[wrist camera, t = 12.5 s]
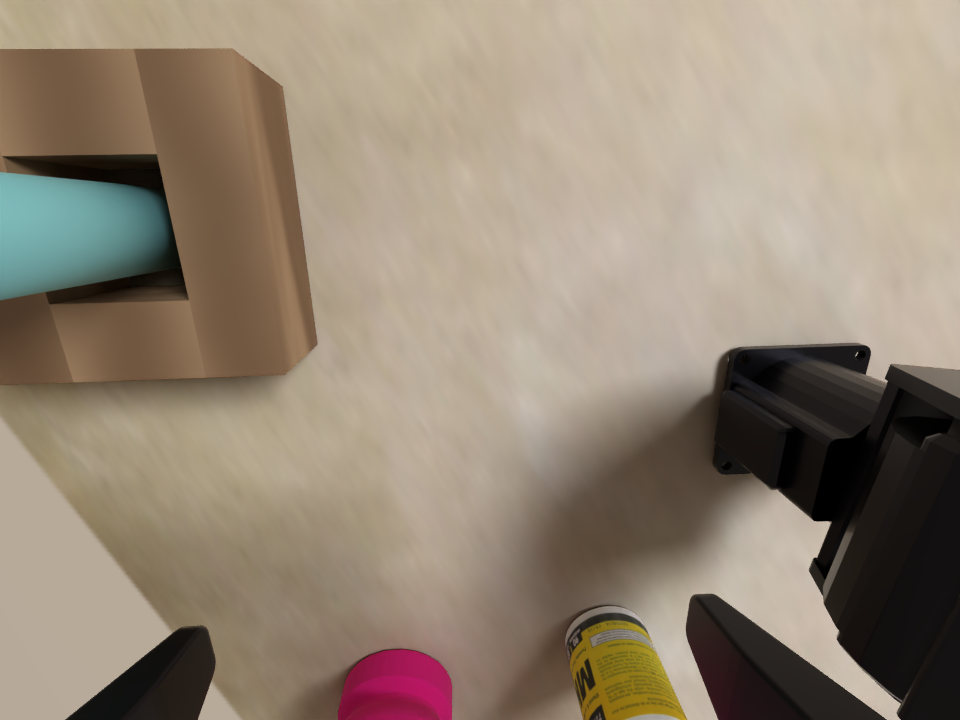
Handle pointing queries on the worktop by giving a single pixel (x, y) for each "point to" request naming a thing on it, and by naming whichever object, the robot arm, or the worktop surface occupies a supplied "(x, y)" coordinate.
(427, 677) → the pepper mill
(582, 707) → the supplement bottle
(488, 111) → the worktop surface
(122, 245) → the peg
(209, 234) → the socket block
